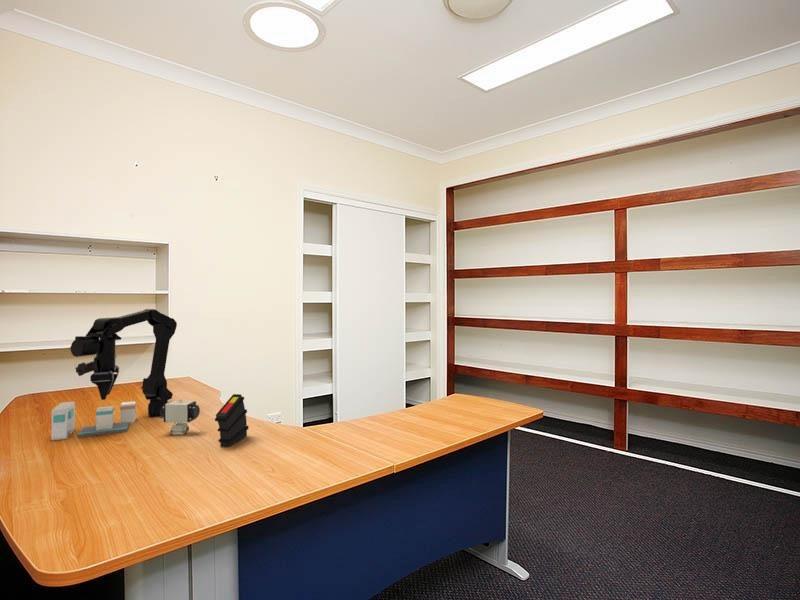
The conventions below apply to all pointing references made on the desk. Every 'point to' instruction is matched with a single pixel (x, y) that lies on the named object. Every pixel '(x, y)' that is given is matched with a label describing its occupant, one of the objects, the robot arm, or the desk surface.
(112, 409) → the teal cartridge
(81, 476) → the desk surface
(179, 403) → the pneumatic valve
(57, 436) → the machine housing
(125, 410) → the light grey boxy piece
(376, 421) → the desk surface
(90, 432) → the plate
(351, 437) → the desk surface
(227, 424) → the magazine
